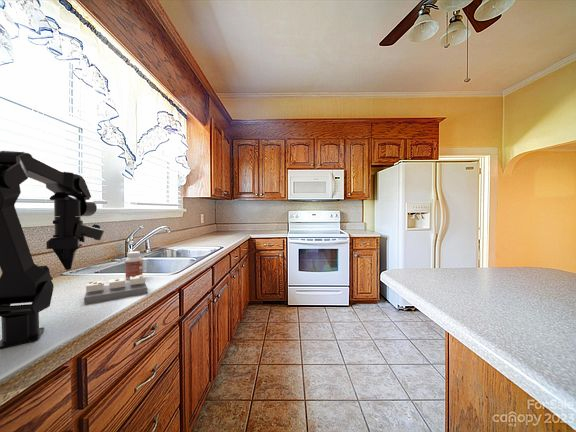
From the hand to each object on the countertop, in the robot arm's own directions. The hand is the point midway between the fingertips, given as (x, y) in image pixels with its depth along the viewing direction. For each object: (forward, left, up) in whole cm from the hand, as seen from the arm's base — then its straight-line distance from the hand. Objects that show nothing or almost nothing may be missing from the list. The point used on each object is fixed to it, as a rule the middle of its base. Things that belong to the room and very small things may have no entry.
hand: (68, 269), depth 72 cm
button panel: (+8, -12, -12) cm, 18 cm away
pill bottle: (+28, -18, -12) cm, 35 cm away
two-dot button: (+8, -18, -9) cm, 21 cm away
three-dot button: (+8, -6, -9) cm, 13 cm away
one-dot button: (+8, -12, -9) cm, 17 cm away
